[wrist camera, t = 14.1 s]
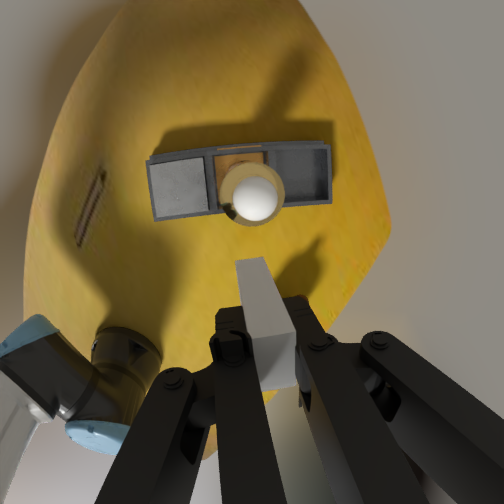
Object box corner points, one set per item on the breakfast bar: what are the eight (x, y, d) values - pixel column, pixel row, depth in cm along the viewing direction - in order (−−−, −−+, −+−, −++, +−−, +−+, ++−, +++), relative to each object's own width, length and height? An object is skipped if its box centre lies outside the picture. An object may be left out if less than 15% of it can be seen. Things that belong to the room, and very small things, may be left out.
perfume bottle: (248, 204, 40) (272, 251, 21) (213, 186, 38) (205, 219, 20) (267, 170, 38) (309, 187, 20) (232, 151, 37) (242, 149, 18)
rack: (160, 219, 40) (152, 228, 36) (151, 155, 37) (141, 156, 32) (323, 202, 42) (335, 209, 38) (321, 140, 39) (334, 140, 34)
